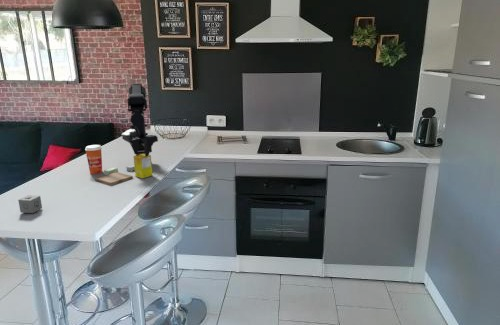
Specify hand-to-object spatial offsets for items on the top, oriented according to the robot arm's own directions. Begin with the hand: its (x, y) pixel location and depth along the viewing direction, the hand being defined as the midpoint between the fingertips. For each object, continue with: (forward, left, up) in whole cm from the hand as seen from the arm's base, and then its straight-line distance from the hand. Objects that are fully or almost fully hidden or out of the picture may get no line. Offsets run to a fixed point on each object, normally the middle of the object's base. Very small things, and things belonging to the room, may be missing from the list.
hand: (141, 155), depth 172 cm
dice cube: (+51, -3, -11) cm, 52 cm away
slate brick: (-4, -13, -11) cm, 18 cm away
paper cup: (+9, -25, -11) cm, 29 cm away
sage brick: (+6, -17, -11) cm, 21 cm away
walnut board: (+11, -8, -11) cm, 17 cm away
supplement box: (0, 0, -11) cm, 11 cm away
